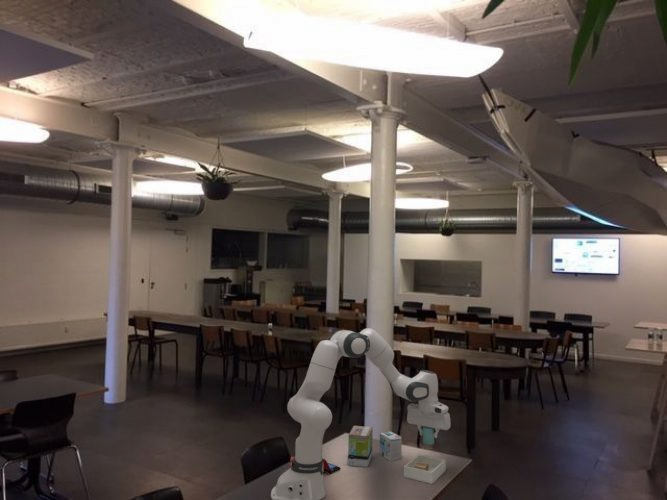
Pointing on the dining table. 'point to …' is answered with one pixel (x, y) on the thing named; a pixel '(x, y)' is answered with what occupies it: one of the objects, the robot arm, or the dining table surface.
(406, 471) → the grey tote
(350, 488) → the dining table surface
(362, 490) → the dining table surface
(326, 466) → the handheld game console
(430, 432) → the teal cylinder
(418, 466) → the oak cube
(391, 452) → the light bulb box
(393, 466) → the dining table surface
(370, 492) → the dining table surface
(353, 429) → the tea box
